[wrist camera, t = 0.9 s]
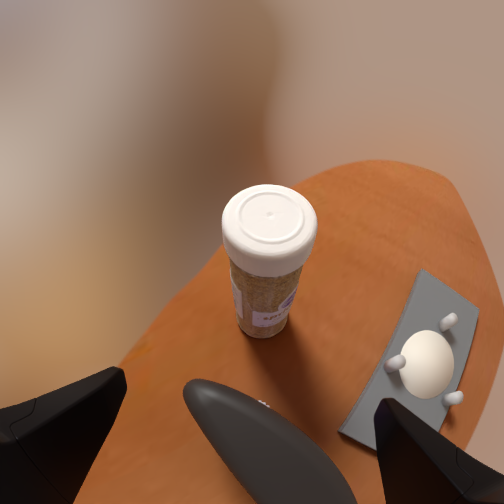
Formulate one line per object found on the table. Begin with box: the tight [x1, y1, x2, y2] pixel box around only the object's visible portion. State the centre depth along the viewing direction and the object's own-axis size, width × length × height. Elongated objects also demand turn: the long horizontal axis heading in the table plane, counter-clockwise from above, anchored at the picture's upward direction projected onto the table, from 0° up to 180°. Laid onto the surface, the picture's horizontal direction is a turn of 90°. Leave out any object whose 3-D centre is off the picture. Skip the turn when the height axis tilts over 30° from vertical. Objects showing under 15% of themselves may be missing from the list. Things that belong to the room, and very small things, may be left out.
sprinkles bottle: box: [222, 185, 318, 338], centre depth 19 cm, size 5×5×13 cm
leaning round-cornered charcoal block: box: [183, 379, 357, 504], centre depth 14 cm, size 16×5×9 cm, turn 33°
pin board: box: [338, 269, 479, 451], centre depth 20 cm, size 18×9×3 cm, turn 143°
